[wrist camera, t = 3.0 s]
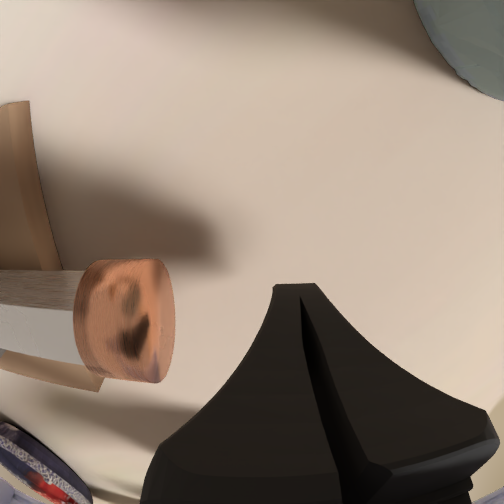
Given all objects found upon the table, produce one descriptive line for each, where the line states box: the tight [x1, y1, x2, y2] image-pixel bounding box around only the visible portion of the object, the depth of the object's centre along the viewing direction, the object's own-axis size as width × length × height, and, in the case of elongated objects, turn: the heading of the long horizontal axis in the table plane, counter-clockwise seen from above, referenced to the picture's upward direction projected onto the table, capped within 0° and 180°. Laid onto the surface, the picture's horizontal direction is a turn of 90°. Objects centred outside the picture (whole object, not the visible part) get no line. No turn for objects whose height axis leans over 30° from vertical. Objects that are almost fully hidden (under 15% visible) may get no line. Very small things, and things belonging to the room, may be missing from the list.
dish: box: [0, 422, 93, 504], centre depth 27 cm, size 16×31×5 cm, turn 167°
